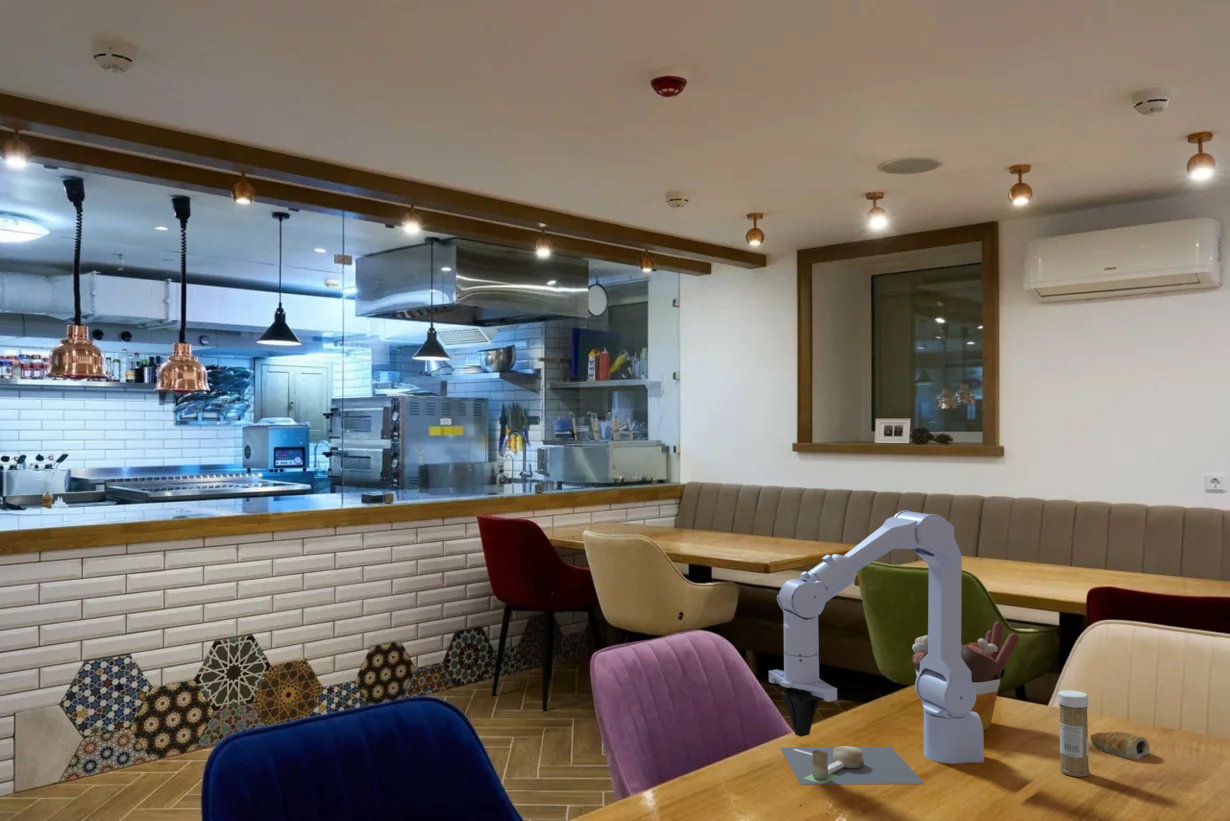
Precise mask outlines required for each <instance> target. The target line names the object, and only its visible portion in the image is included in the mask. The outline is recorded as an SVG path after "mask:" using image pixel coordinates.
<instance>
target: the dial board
mask: <svg viewBox="0 0 1230 821" xmlns="http://www.w3.org/2000/svg"><path fill="white" fill-rule="evenodd" d="M836 747H837V746H833V747H832V746H831V747H830V746H825V747H824V746H821V747H816V746H815V747H814V746H813V747H810V746H808V747H805V746H804V747H800V746H798V747H792V746H791V747H790V746H789V747H783V746H782V747H781V746H780V750H781V752H782V754H783V756H784V757H785V759H786V761H787V763H788V765H789V766H790V768H791V771H792V772H793V774H794V775H795V777H796V780H797V782H798V783H799V785H800V786H802V785H809V786H811V785H813V786H814V785H815V786H816V785H825V786H827V785H828V786H829V785H834V786H835V785H839V786H840V785H841V786H842V785H845V786H846V785H847V786H848V785H925V782H924V781H923V780H922V779H921V778H920V777H919V776H918V775H917V773H916V772H915V771H914V770H913V769H912V768H911V767H910V766H909V765H908V763H906V762H905V760H904V759H903V758H902V757H901V756H900V755H899V754H898V752H897V751H896V750H895V749H894V748H893V747H892V746H855V747H856V748H859V749H861V750H863V752H864V765H863V766H861V767H858V768H845V767H842V768H840V769H838V770H836V771H834V772H832V773H830V774H828V777H827V778H825V779H818V778H815V777H813V751H815V750H822V751H826V752H827V753H828V765H830V764H832V763H834V762H833V749H834V748H836Z"/></svg>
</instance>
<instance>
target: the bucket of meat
mask: <svg viewBox="0 0 1230 821" xmlns="http://www.w3.org/2000/svg"><path fill="white" fill-rule="evenodd" d="M1004 629H1005V628H1004V624H1003V623H1002V622H1001V621H995V622H994V623H993V624H992V630H991V629H988V630H987V632H986V633H985V637H984V638H982V637H980V638H978V639H977V642H970V643H967V644H965V645H963V643H961V658H962V659H963V661H964V662H965V664H966V665H967V667H968V668H969V670H970V671H971V679H972V684H973V686H974V689H975V692H976V702H975V705H974V707H973V708H972V710H971V712H976V713H977V714H978V715H979V717H980V719H981V722H982V726H983V732H984V731H985V730H986V731H987V730H988V729H989V728H990V727H991V725H992V724H991V723H992V720H993V715H994V710H995V706H996V700H997V697H998V696H997V695H998V691H999V687H1000V684H1001V676H1002V672H1003V670H1004V669H1005V667H1006V665H1007V664H1008V662H1009V660H1010V658H1011V656H1012V654H1013V652H1014V650H1015V648H1016V646H1017V645H1018V643H1019V640H1020V638H1019V634H1017V633H1016V632H1015V633H1014V632H1012V633H1010V634H1008V635H1007V638H1006V639H1005V641H1004V643H1003V645H1002V642H1003V641H1002V640H1003V635H1004ZM911 649H912V651H913V652H914V653H913V655H912V664H913V666H914V667H915V674H916V677H917V676H918V674H919V671H920V661H921V660H922V659H923V658H924V657H925V656H926V655H927V654H928V634H926V635H923V636H919V637H916V638H915V640H914V643H913V644H912V648H911Z"/></svg>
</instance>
